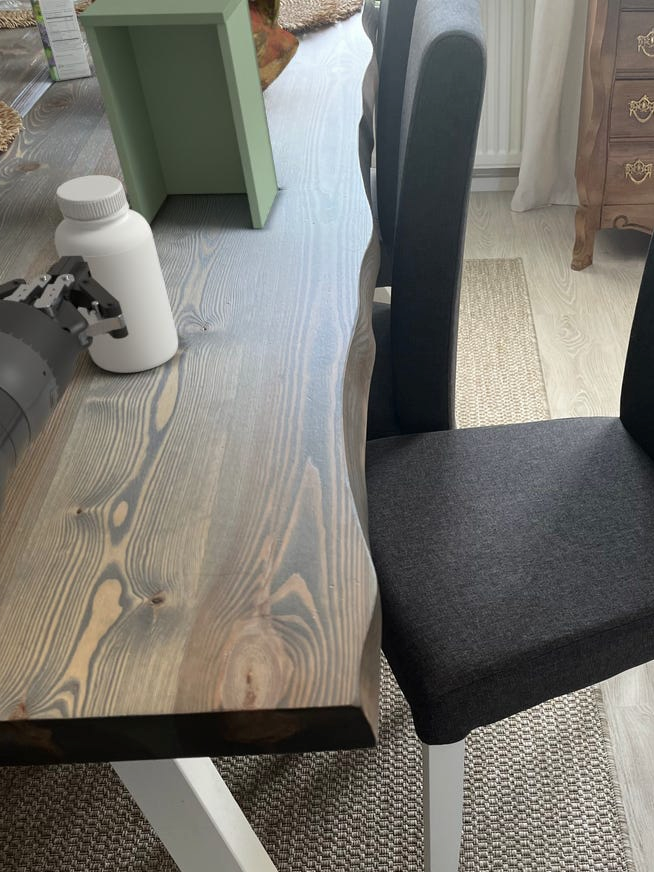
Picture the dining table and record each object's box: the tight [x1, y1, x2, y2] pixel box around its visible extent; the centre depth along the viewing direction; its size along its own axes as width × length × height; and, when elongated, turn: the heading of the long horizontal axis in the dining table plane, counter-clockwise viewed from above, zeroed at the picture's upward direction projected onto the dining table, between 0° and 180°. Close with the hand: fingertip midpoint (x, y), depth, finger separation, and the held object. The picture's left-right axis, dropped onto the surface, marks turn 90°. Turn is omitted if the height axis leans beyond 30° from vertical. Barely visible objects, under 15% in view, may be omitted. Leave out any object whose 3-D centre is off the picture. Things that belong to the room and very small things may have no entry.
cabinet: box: [78, 0, 279, 229], centre depth 108 cm, size 12×14×21 cm
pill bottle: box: [54, 174, 179, 374], centre depth 87 cm, size 8×8×15 cm
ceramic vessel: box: [91, 0, 300, 93], centre depth 132 cm, size 17×26×25 cm, turn 108°
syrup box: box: [29, 0, 92, 82], centre depth 147 cm, size 6×6×14 cm
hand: (76, 267), depth 79 cm, fingers closed
